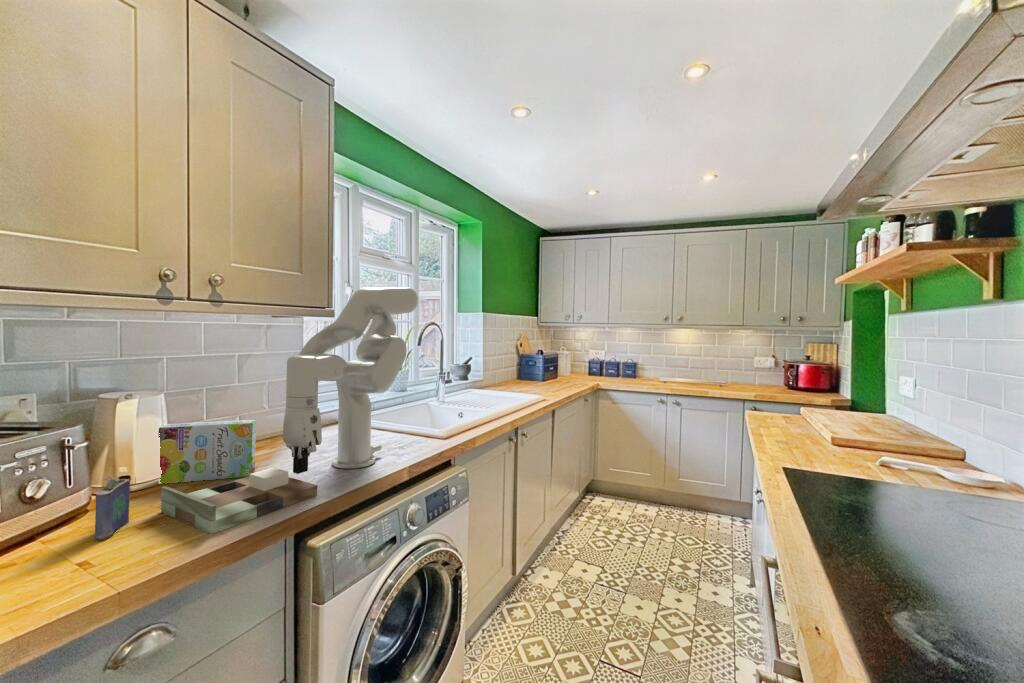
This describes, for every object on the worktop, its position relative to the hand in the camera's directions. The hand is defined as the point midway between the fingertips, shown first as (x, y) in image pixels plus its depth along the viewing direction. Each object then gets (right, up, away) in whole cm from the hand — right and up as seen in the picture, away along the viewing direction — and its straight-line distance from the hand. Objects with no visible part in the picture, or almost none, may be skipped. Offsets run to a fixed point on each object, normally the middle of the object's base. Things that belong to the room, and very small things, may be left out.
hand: (300, 471), depth 112 cm
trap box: (-7, -3, -13) cm, 15 cm away
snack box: (-27, -3, +3) cm, 27 cm away
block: (-4, -1, -7) cm, 9 cm away
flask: (-24, -4, -27) cm, 37 cm away
